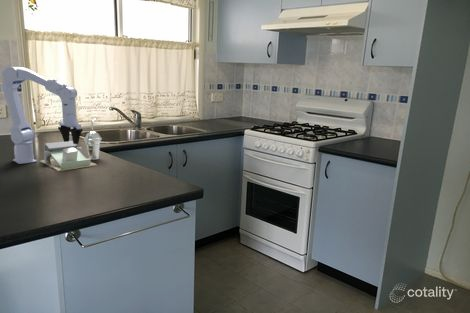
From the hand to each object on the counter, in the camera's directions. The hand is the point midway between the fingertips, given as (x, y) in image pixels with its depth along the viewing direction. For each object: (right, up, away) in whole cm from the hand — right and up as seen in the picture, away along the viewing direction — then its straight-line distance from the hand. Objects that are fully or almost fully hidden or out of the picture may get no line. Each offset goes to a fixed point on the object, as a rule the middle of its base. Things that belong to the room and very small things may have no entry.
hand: (71, 142), depth 178 cm
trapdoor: (-4, -8, +4) cm, 9 cm away
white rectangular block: (0, -8, -2) cm, 9 cm away
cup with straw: (+5, -8, +15) cm, 18 cm away
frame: (-3, -10, +3) cm, 11 cm away
